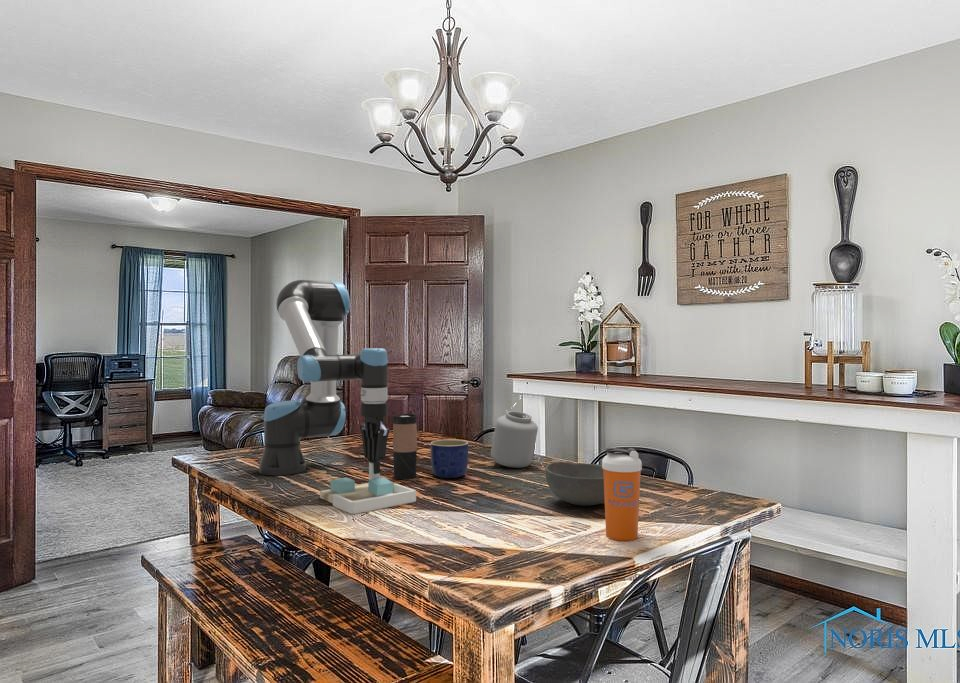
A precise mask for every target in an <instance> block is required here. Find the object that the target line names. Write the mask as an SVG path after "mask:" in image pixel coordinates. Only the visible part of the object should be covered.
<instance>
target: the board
mask: <svg viewBox="0 0 960 683" xmlns="http://www.w3.org/2000/svg"><path fill="white" fill-rule="evenodd" d="M368 483H369V482H364V483H359V484H355V491H352V492H347V493H341V494H338V493H335V492H333V491H331V488H329V489H323V490H319V498H320V499H322V500H323V501H325V502H329V503H330V504H333V495H334V494H337V495H340V496H342V497H344V498H347V499H349V500H357V499H362V498H368V497H373V496H376V495H375V494H373V493H372V492H370V491H369V490H368Z"/></svg>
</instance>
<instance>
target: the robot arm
mask: <svg viewBox="0 0 960 683" xmlns="http://www.w3.org/2000/svg"><path fill="white" fill-rule="evenodd" d="M275 303H276V310H277V313H278V316H279V317H280V318H281V319H282V320H283V321H284V322H285V324H286V326H287V328H288V331H289V334H290V335H291V338H292V340H293V343H294V345H295V347H296V350H297V352H298V355H299V357H298V359H297V363H296V370H297V377H298V379H299V380H300V381H302V382H310V393H309V394H308V395H307V396H306V397H305V403H301V401H300V400H299V399H297V400H296V399H295V400H294V399H293V400H283V401H278V402H274V403H273V402H272V403H270V404H268V405H267V406H266V407H265V408H264V415H263V422H264V423H263V426H264V427H263V428H264V429H263V430H264V431H263V432H264V435H263V436H264V438H263V439H264V442H263V443H264V450H263V452H262V455H261V458H260V461H259V465H258V473H259V474H261V475H264V476H265V475H266V476H286V475H288V476H289V475H295V474H300V473H303V472H305V471H306V470H307V468H306V467H307V464H306V460H305V457H304V454H303V450H302V448H301V439H307V438H310V439H311V438H318V437H320V438H321V437H326V438H327V437H330V436H336V435H338V434H339V433H341V432H342V430H343V428H344V426H345V422H346V415H347V414H346V407H345V404H344V403H343V402H342V401H341V398H340V396H339V395H337V381H354V380H355V381H357V380H358V381H359V380H360V393H359V394H360V400H361V402H362V403H361V404H360V415H361V416H362V417H364V423H361V424H360V425H359V430H360V431H361V440H362V447H363V448H362V449H363V456H364V459H367V462H368V481H369V480H371V479H377V478H381V463H382V462H383V461H385V460H386V459H385V458H386V453H387V447H388V446H387V445H388V437H389V434H390V432H391V431H390V430H391V429H390V428H388V427H386V426H385V419H384V418H385V417H387V416H388V409H389V408H388V403H387V401H388V398H389V397H388V394H389V393H388V392H389V391H388V362H389V360H388V352H387V350H386V349H385V348H377V347H375V348H369V347H368V348H367V347H366V348H365V347H364V348H362V349H361V350H360V353H353V354H338V348H339V347H338V344H339V342H338V341H339V326H340V325H341V324H342V323H343V322H344V317H345V316H347V315H348V314H349V313H350V309H351V308H350V307H351V299H350V294H349V291H348V288H347V287H346V286H345V284H344V283H343V282H340V281H336V280H335V281H334V280H309V279H308V280H307V279H298V280H293V281H290V282H289V283H287V284H286V285H285V286H284V287H283V288H282V289H281V290H280V291H279V293H278V295H277V298H276V302H275Z"/></svg>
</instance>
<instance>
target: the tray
mask: <svg viewBox="0 0 960 683" xmlns="http://www.w3.org/2000/svg"><path fill="white" fill-rule="evenodd" d="M416 501H417V490H416V489H414V488H410V487H408V486H404V485H401V484H400V483H399V484H398V483H393V493H390V494H385V495H379V496H373V497H368V498H362V499H357V500H349V499H347V498H344V497H342V496H340V495H337V494H334V495H333V503H332V506H333V507H335V508H336V509H340V510H341V511H344V512H346V513H348V514H350V515H356V514H362V513H366V512H371V511H376V510H380V509H386V508H391V507H396V506H401V505H406V504H411V503H412V504H413V503H416Z"/></svg>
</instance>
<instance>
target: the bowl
mask: <svg viewBox="0 0 960 683" xmlns="http://www.w3.org/2000/svg"><path fill="white" fill-rule="evenodd" d="M544 474H545V479H546V484H547V485H548V487H549V489H550V491H551V492H552V494H553V495H555V497H556V498H559V500H562V501H563V502H565V503H567V504H571V505H575V506H583V507H590V506H595V505H599V504H603V503H605V500H604V478H603V469H602V464H597V463H584V462H583V463H582V462H579V463H578V462H576V463H575V462H574V463H573V462H563V461H555V462H551V463H548V464H547V465H546V466H545V473H544Z"/></svg>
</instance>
